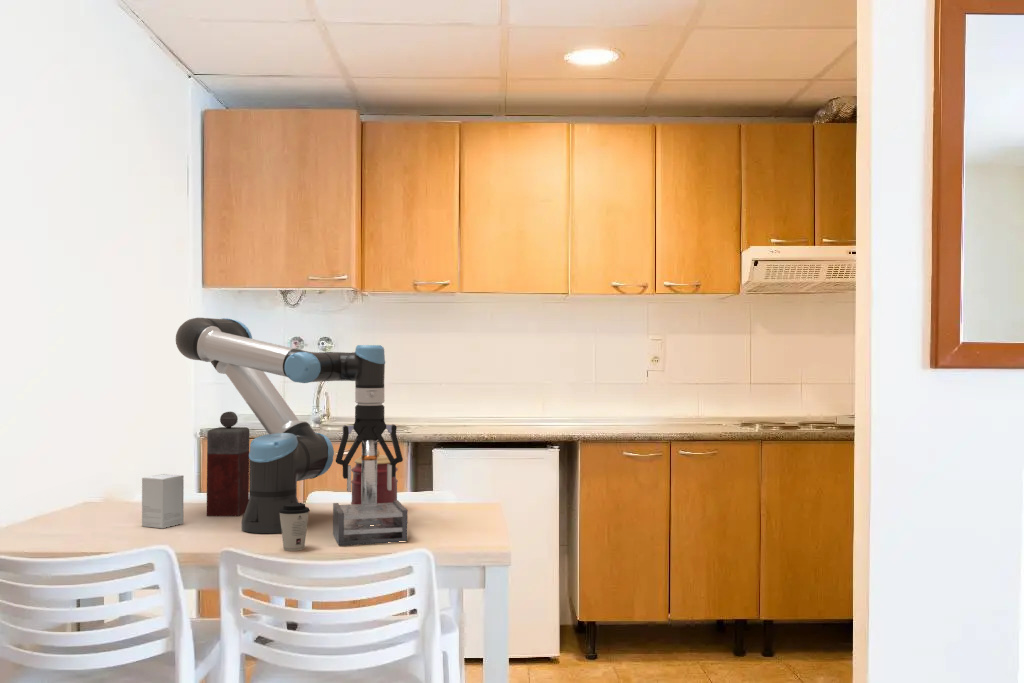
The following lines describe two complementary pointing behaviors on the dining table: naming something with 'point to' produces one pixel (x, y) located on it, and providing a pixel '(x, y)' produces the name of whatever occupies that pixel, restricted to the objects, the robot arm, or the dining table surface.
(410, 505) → the dining table surface
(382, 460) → the canister
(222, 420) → the square decanter
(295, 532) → the coffee cup
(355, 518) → the collar stand
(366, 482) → the tube
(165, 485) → the supplement box
